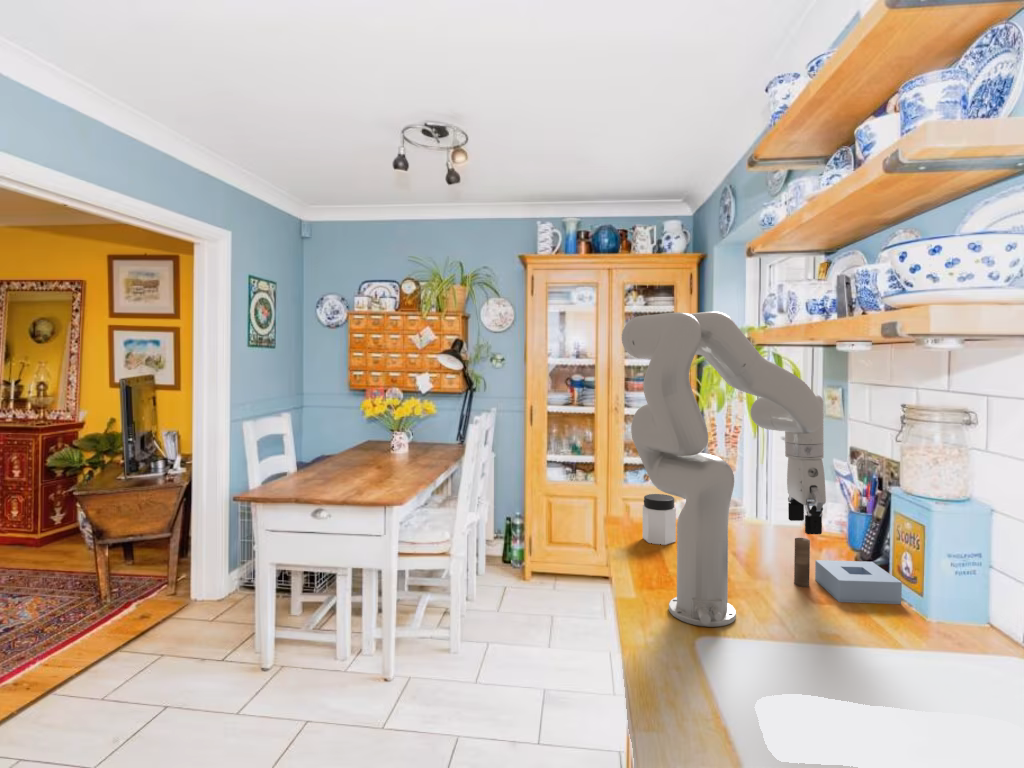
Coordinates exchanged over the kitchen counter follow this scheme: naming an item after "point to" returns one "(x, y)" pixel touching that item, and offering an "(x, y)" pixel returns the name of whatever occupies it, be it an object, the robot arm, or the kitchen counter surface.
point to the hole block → (858, 582)
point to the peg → (802, 562)
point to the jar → (659, 519)
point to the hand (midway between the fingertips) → (804, 526)
